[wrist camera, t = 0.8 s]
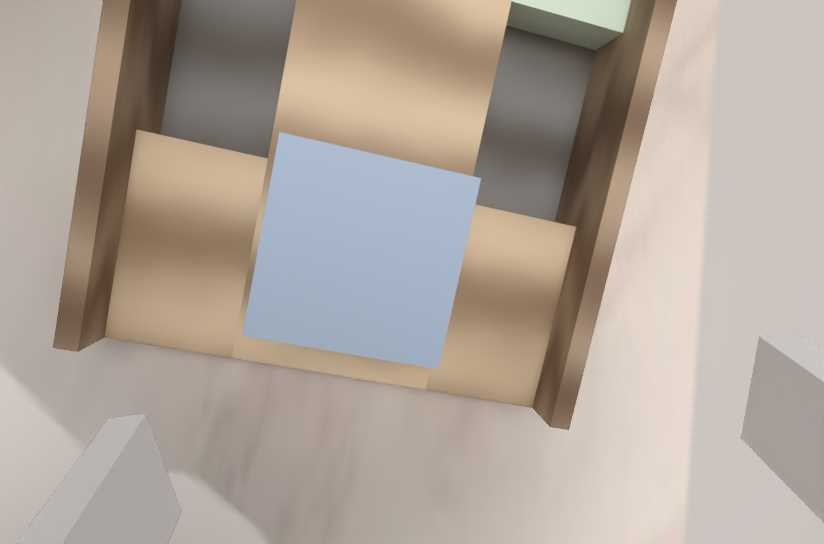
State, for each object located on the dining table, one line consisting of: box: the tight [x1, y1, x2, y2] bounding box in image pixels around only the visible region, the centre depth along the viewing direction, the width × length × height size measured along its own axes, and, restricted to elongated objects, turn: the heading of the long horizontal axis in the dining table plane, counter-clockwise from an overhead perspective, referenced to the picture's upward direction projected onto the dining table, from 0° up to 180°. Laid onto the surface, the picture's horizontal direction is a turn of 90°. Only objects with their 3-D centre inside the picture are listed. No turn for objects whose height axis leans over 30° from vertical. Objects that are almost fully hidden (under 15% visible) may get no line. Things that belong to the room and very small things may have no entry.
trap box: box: [53, 0, 677, 430], centre depth 26 cm, size 30×24×6 cm
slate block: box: [242, 132, 481, 369], centre depth 22 cm, size 7×7×8 cm
